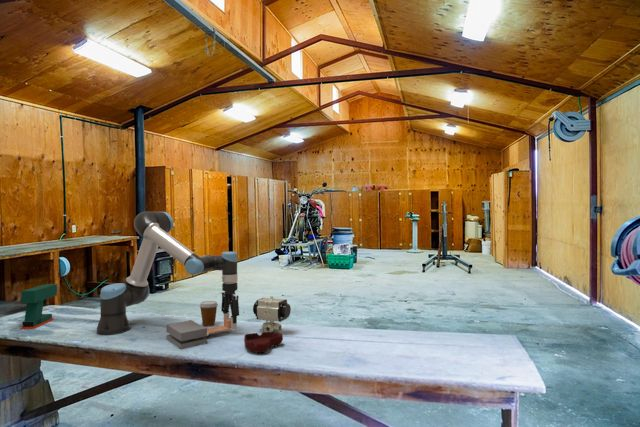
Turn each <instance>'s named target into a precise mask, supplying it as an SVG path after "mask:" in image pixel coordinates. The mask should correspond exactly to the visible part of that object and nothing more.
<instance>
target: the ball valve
mask: <svg viewBox="0 0 640 427" xmlns="http://www.w3.org/2000/svg"><path fill="white" fill-rule="evenodd" d="M291 309H292V308H291V304H289V303H288V299H284V298H274V296H273V295H272V296H270V297H262V298H259V299H257V300H256V301H255V302H254V304H253V306H252V311H253V314H254V315H255V317H256V320H261V321H265V322H263V324H262V325H261V328H262V330H263V331H264V332H273V333H281V331H282V324H281V323H280V322H283V321H285V320H287V319H288V318H289V317H290V315H291Z"/></svg>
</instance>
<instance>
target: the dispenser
mask: <svg viewBox="0 0 640 427" xmlns="http://www.w3.org/2000/svg"><path fill="white" fill-rule="evenodd" d="M165 328H166V333H168V334H166V340H167V341H168V342H170V343H172V344H173V345H174V346H176V347H177V348H178V349H180V350H183V349H188V348H192V347H197V346H202V345H205V344H206V345H207V343H208V339H207V338H206V337H208V336H209V335H210V334H209V333H207V326H203V324H199V322H195V321H194V320H192V319H190V320H185V321H184V320H183V321H177V322H173V323H168V324H167V323H166V326H165Z"/></svg>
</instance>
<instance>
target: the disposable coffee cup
mask: <svg viewBox="0 0 640 427" xmlns="http://www.w3.org/2000/svg"><path fill="white" fill-rule="evenodd" d="M218 304H219V303H218V301H216V300H206V301H202V302H200V303H199V307H200V314H201V322H202V326H204V327H212V326H215V325H216V319H217V318H216V317H217V310H218V309H217V308H218Z"/></svg>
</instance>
